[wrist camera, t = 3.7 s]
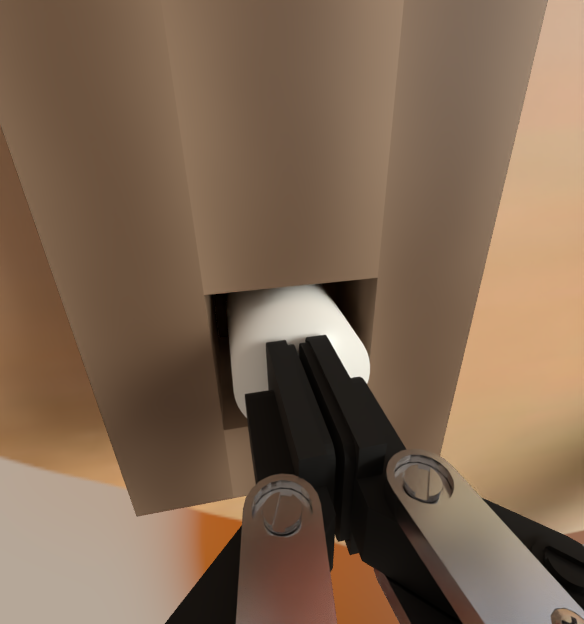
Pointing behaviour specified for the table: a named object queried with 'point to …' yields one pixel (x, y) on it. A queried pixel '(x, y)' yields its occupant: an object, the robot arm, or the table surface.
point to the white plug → (285, 332)
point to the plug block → (260, 196)
